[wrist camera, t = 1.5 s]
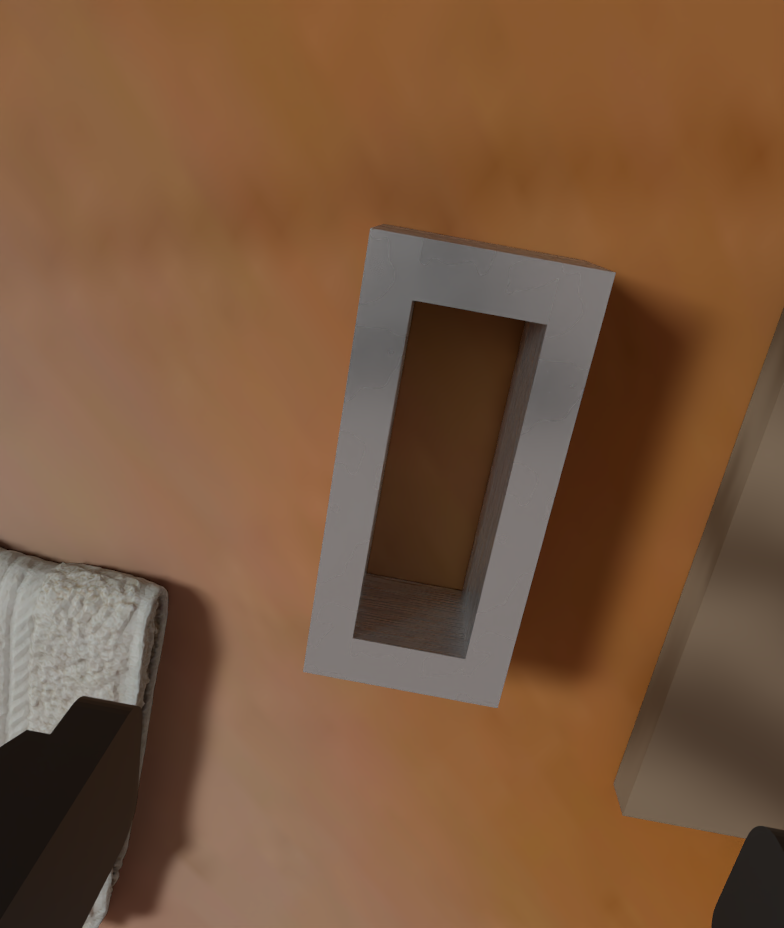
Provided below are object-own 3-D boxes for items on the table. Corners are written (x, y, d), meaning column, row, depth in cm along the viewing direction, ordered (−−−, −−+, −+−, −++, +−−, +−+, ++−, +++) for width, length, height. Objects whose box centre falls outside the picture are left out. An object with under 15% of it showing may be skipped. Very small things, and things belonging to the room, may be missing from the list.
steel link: (383, 223, 21) (370, 227, 17) (584, 260, 21) (615, 272, 17) (324, 603, 25) (303, 671, 22) (489, 634, 25) (497, 708, 22)
